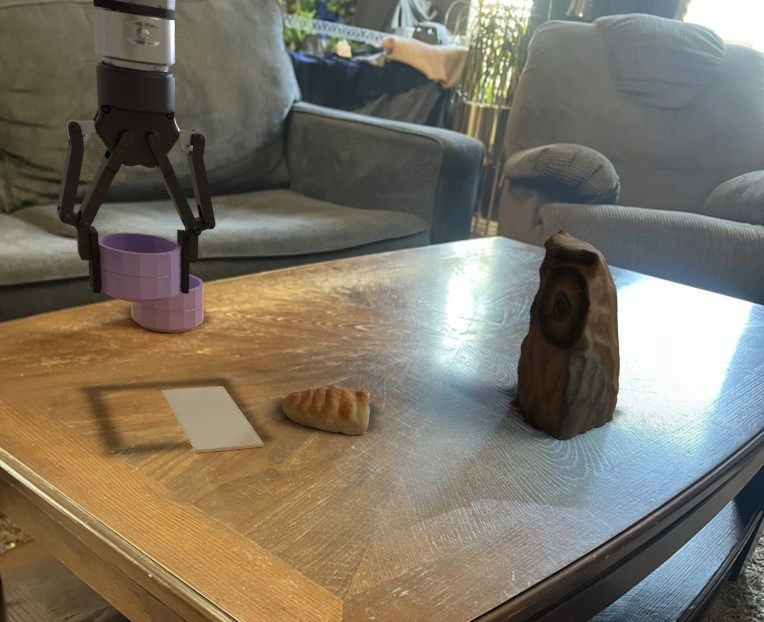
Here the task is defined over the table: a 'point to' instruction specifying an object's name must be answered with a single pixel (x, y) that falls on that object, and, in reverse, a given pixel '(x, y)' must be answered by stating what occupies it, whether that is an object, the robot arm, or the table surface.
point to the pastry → (330, 409)
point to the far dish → (173, 311)
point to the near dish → (140, 267)
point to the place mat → (211, 419)
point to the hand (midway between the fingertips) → (140, 289)
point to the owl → (570, 343)
